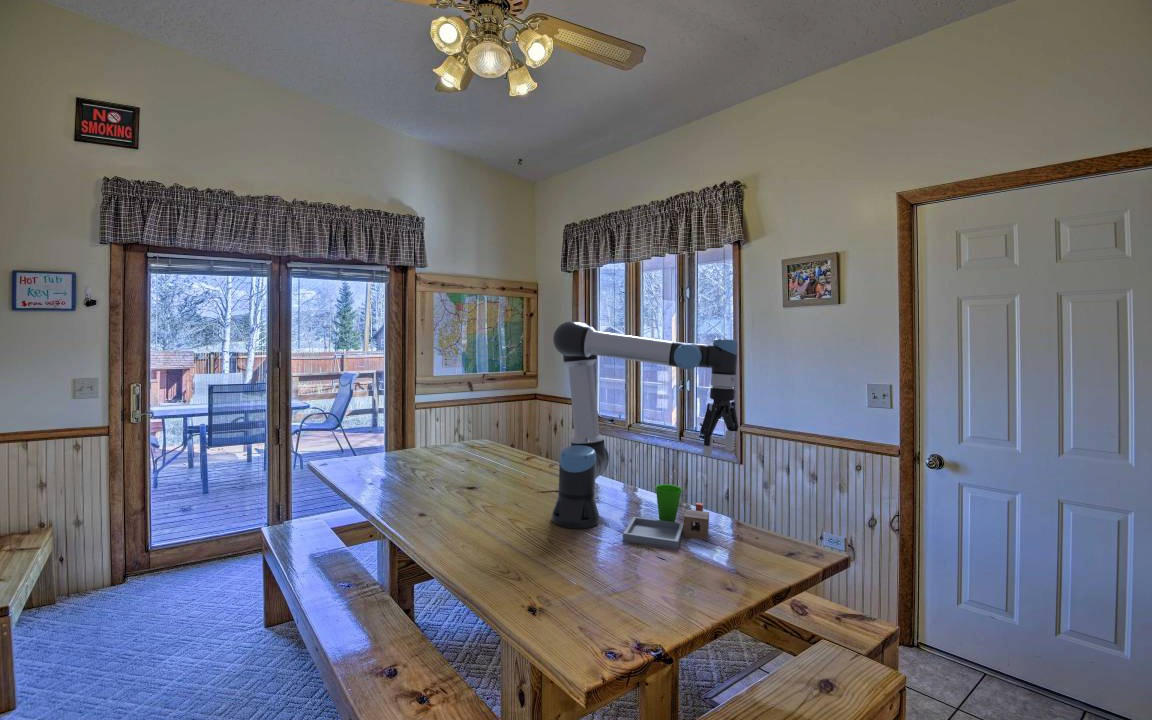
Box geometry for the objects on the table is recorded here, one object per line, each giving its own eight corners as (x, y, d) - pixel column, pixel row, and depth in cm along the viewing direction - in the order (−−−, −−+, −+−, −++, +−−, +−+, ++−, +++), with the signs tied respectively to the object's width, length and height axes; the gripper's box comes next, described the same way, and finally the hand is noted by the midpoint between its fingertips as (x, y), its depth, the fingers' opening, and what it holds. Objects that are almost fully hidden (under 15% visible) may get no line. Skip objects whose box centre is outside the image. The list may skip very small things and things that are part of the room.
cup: (681, 527, 173) (682, 493, 173) (652, 524, 175) (654, 490, 175) (681, 517, 182) (682, 485, 182) (654, 515, 184) (655, 483, 183)
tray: (622, 541, 160) (623, 533, 160) (633, 523, 175) (633, 516, 175) (677, 549, 155) (678, 541, 155) (683, 530, 170) (683, 523, 170)
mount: (685, 529, 172) (686, 509, 171) (708, 532, 169) (709, 512, 169) (683, 536, 165) (684, 516, 165) (706, 540, 163) (707, 519, 162)
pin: (695, 517, 179) (696, 502, 179) (702, 518, 178) (703, 503, 178) (693, 528, 169) (693, 511, 169) (700, 529, 169) (701, 512, 168)
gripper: (713, 390, 161) (708, 460, 162) (751, 387, 179) (747, 450, 180) (691, 387, 166) (687, 455, 168) (730, 384, 185) (726, 446, 186)
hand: (718, 453), depth 174 cm, fingers open, 13 cm apart
